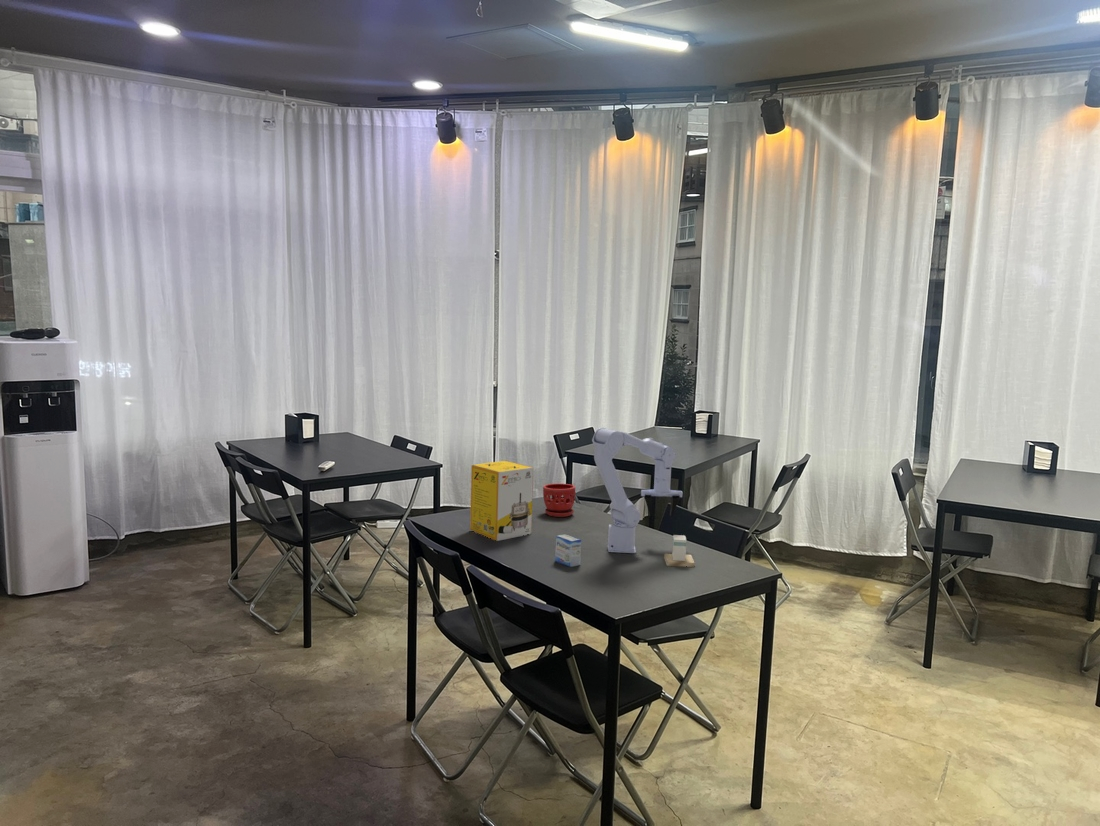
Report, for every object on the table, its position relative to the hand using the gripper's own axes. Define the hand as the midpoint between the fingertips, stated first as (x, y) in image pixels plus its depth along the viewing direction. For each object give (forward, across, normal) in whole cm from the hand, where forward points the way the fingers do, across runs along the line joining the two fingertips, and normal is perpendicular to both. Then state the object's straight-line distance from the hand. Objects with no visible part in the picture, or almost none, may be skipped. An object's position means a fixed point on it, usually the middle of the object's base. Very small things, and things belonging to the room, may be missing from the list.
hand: (660, 516), depth 284 cm
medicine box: (+11, -34, -24) cm, 43 cm away
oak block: (+11, +3, -20) cm, 23 cm away
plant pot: (+11, -35, +40) cm, 54 cm away
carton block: (+9, +3, -20) cm, 23 cm away
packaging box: (+11, -57, +11) cm, 59 cm away
